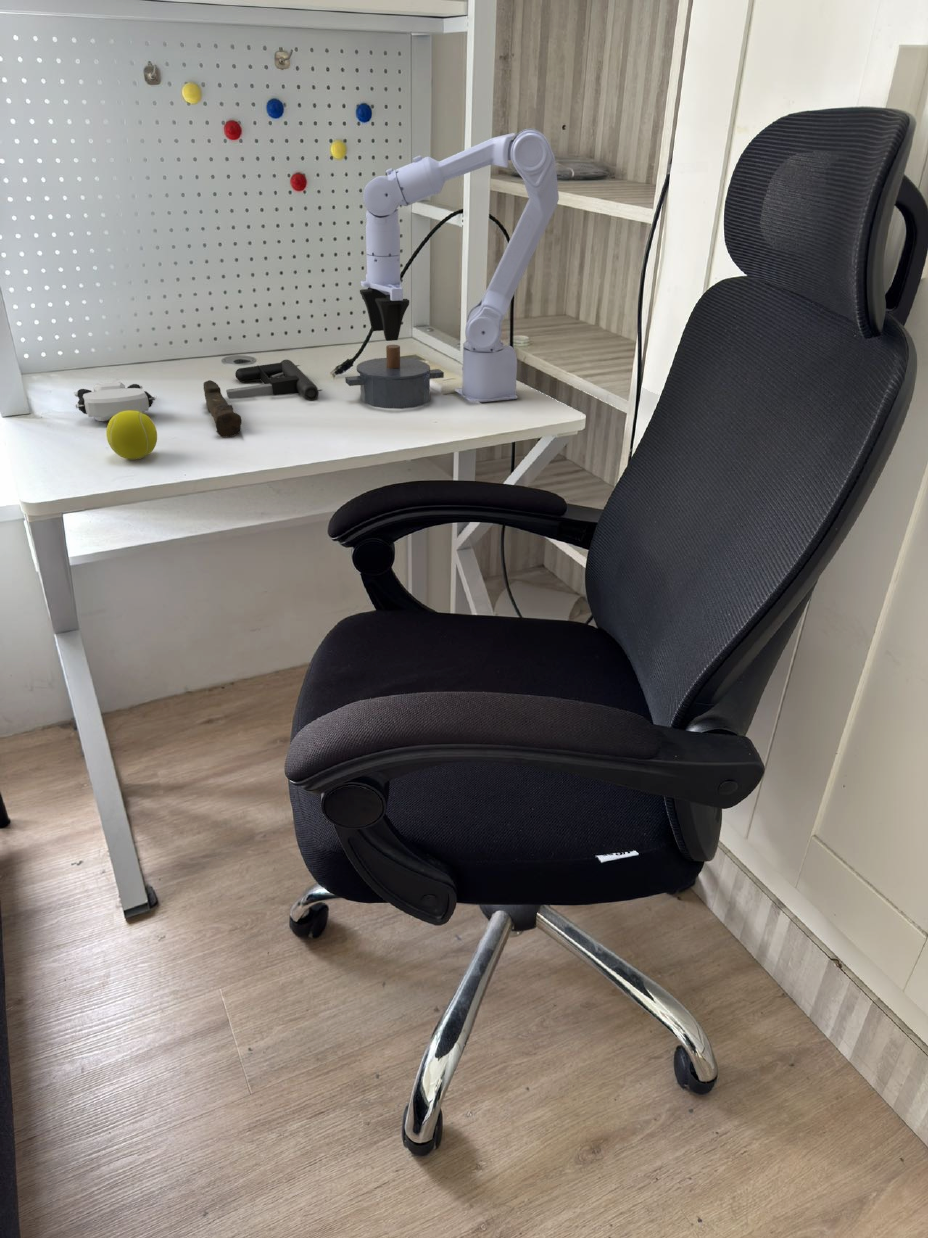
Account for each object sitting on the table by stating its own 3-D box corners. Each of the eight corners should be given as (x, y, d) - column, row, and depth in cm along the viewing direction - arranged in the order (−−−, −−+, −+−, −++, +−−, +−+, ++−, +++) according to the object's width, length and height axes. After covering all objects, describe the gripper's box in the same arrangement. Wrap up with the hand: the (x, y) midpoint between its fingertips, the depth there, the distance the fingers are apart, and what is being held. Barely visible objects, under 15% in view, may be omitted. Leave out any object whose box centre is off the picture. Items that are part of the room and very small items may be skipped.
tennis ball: (163, 448, 139) (156, 403, 136) (157, 465, 134) (150, 418, 130) (115, 450, 138) (107, 404, 135) (107, 466, 132) (98, 419, 129)
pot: (338, 396, 166) (337, 365, 163) (429, 387, 172) (429, 358, 169) (358, 415, 156) (357, 383, 153) (453, 406, 162) (454, 375, 159)
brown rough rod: (243, 436, 145) (240, 407, 143) (217, 438, 144) (214, 409, 142) (226, 403, 161) (223, 376, 158) (202, 404, 159) (199, 378, 157)
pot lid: (348, 366, 165) (346, 340, 162) (415, 361, 169) (415, 335, 167) (369, 385, 154) (368, 357, 152) (440, 379, 159) (441, 352, 156)
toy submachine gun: (233, 396, 155) (324, 383, 160) (213, 367, 171) (297, 356, 176) (236, 415, 157) (327, 401, 162) (216, 385, 173) (299, 373, 178)
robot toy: (73, 409, 158) (81, 429, 145) (68, 383, 156) (76, 400, 143) (147, 402, 162) (161, 420, 150) (143, 376, 160) (156, 392, 148)
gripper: (348, 248, 161) (351, 327, 167) (373, 261, 149) (375, 346, 156) (386, 247, 163) (388, 325, 170) (414, 259, 151) (414, 343, 158)
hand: (384, 335), depth 163 cm, fingers open, 7 cm apart
